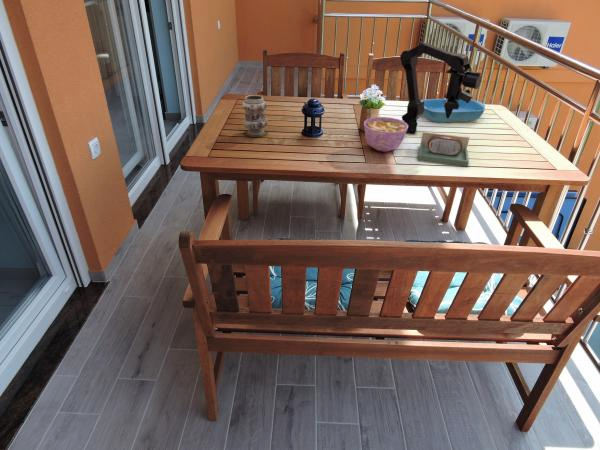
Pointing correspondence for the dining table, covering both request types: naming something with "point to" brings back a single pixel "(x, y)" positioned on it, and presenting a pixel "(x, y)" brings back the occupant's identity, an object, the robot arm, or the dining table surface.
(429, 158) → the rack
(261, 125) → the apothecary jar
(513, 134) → the dining table surface
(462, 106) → the casserole dish
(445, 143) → the tin
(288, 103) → the dining table surface
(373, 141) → the bowl of food
